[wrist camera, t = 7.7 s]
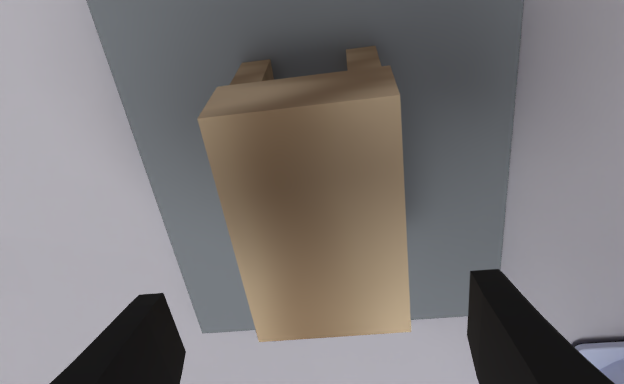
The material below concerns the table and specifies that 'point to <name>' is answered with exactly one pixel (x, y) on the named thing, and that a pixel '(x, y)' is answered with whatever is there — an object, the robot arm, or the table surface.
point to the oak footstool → (314, 197)
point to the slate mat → (318, 60)
